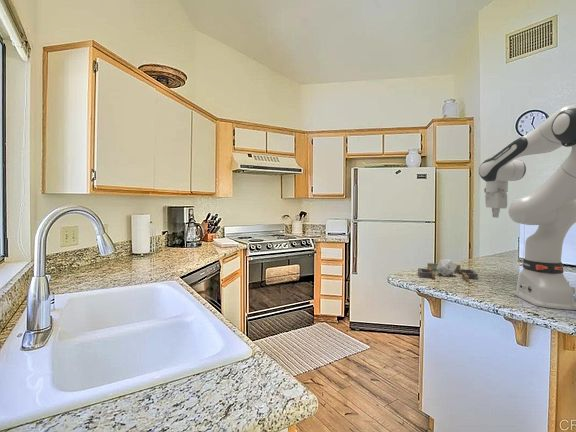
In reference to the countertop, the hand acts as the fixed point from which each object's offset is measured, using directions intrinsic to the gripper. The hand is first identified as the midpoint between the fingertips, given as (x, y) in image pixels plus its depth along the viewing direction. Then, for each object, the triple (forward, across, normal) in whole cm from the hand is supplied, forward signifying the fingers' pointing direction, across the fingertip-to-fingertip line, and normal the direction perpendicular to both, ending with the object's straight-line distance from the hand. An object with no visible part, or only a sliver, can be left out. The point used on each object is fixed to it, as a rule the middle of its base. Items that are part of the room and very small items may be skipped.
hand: (495, 217), depth 153 cm
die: (+29, -4, +21) cm, 37 cm away
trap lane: (+29, -6, +21) cm, 37 cm away
